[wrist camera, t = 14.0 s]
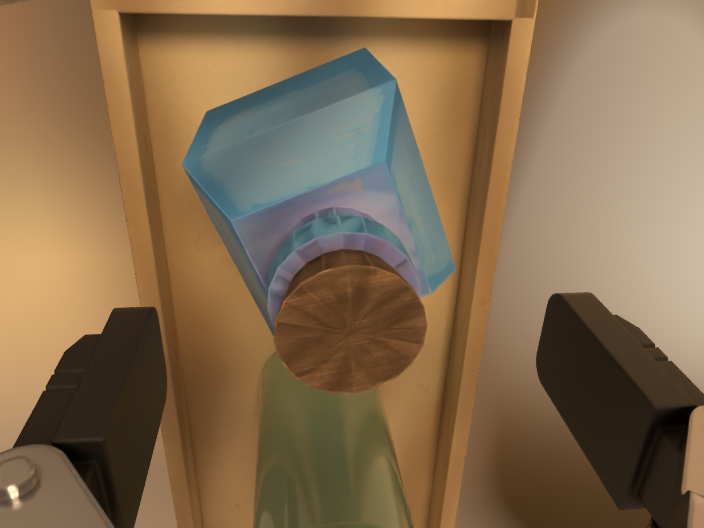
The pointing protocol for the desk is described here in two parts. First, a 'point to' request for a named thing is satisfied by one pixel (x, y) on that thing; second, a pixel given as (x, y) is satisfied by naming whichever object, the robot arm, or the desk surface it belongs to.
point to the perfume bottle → (327, 219)
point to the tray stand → (219, 268)
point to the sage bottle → (324, 458)
